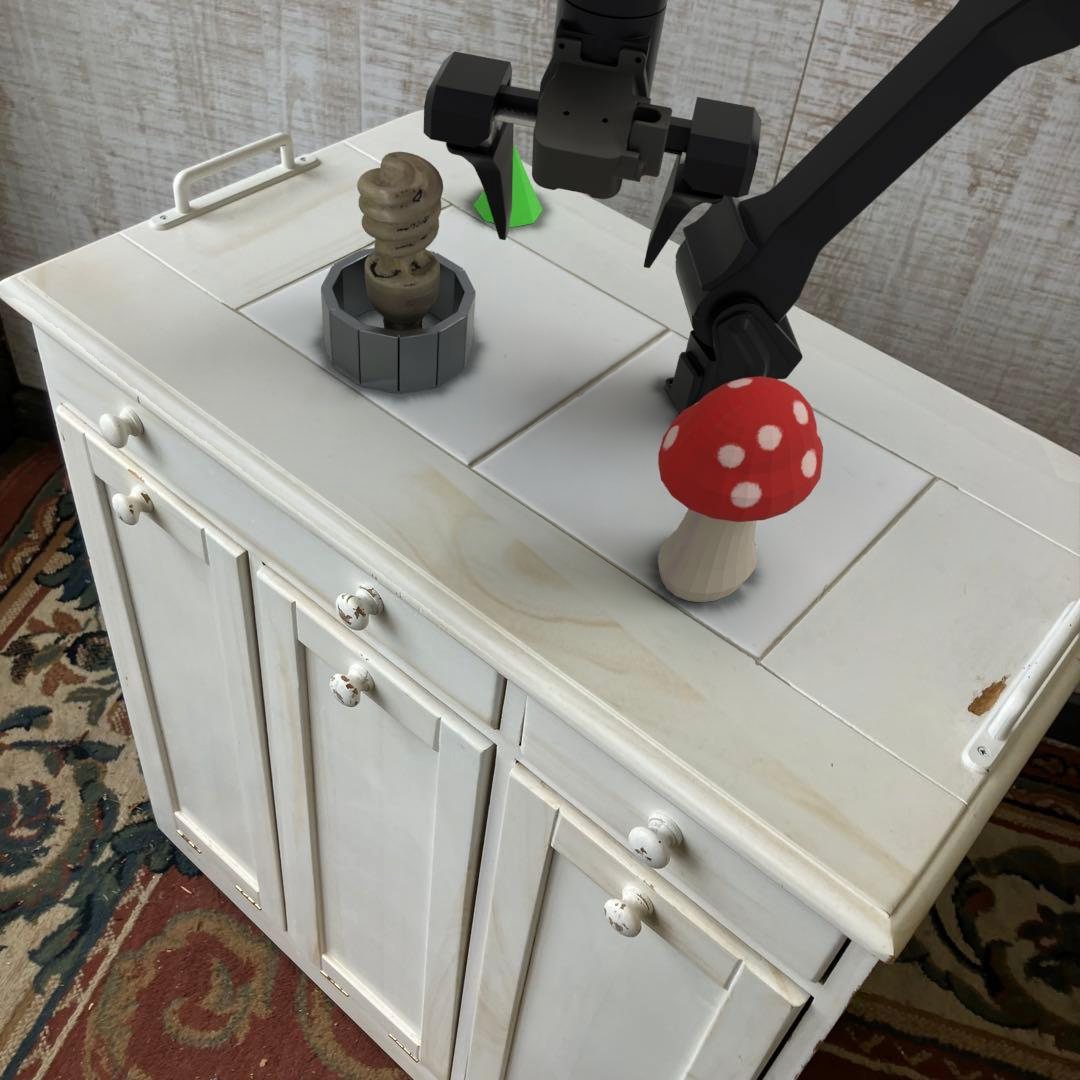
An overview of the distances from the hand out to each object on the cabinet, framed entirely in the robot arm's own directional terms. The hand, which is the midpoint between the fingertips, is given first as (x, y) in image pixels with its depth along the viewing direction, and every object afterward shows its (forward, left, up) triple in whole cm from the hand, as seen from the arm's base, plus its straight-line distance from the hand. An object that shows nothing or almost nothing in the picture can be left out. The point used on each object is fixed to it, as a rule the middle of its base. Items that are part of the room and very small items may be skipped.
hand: (575, 250), depth 68 cm
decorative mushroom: (-4, +17, -13) cm, 22 cm away
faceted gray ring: (+9, -9, -13) cm, 18 cm away
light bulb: (+9, -9, -13) cm, 18 cm away
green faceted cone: (-5, -25, -13) cm, 29 cm away
